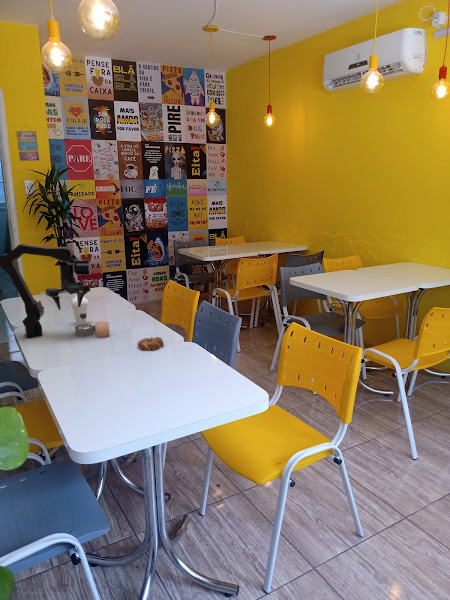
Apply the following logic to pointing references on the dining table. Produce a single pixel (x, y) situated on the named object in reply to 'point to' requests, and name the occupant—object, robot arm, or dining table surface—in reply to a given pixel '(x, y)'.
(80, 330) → the gray octagonal container
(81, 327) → the plunger
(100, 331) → the peach rounded capsule
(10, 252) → the robot arm
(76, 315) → the soft serve ice cream cone
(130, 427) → the dining table surface
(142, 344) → the pretzel
